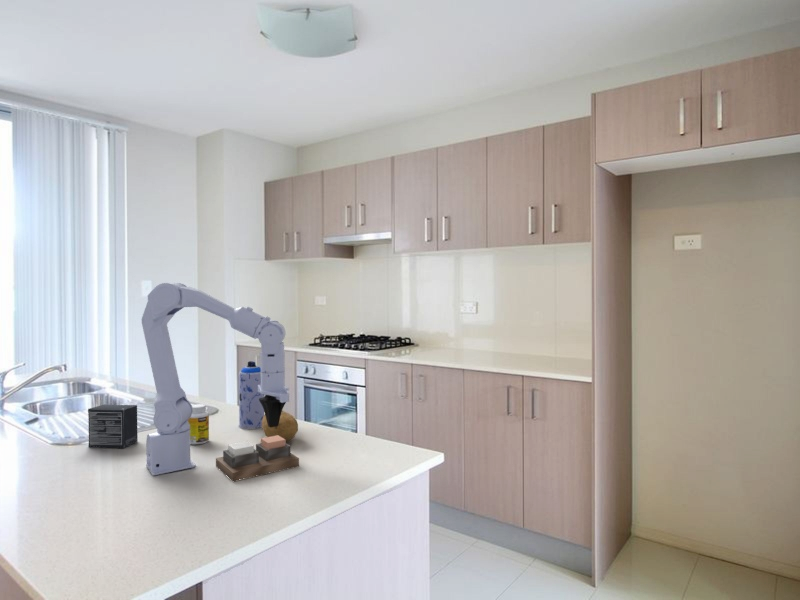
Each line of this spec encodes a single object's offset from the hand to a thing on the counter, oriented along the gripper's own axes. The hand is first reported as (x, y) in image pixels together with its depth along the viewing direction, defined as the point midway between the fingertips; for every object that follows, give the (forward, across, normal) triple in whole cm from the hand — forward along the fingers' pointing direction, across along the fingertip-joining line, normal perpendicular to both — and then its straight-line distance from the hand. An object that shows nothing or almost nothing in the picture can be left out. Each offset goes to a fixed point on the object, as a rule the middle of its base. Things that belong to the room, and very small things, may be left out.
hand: (273, 426), depth 124 cm
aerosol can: (+9, +35, -8) cm, 37 cm away
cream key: (+5, 0, +8) cm, 9 cm away
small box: (+9, +40, +29) cm, 50 cm away
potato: (+9, +16, -9) cm, 21 cm away
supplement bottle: (+9, +28, +10) cm, 31 cm away
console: (+9, 0, +4) cm, 10 cm away
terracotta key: (+5, 0, 0) cm, 5 cm away
